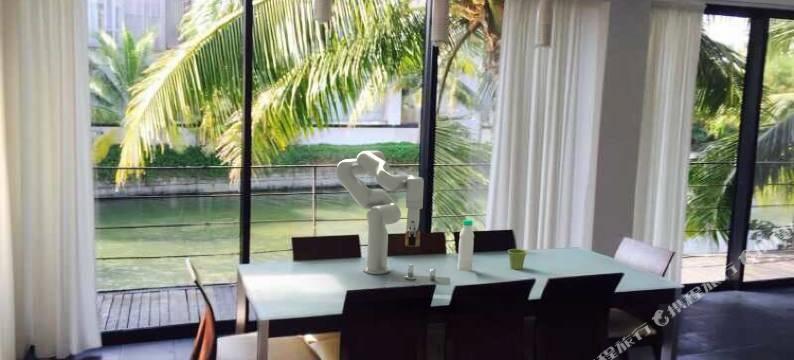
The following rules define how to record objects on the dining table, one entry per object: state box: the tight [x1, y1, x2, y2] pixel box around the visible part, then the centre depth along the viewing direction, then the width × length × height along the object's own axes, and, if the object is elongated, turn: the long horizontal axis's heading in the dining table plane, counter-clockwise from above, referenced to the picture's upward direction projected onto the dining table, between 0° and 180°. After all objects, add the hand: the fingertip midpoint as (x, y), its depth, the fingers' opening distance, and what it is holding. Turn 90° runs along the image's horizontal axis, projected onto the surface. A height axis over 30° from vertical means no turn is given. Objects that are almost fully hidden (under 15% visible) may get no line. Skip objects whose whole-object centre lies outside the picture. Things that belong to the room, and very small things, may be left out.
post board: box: [391, 273, 451, 286], centre depth 301 cm, size 12×26×2 cm, turn 85°
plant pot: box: [507, 248, 528, 270], centre depth 334 cm, size 9×9×9 cm
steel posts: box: [404, 263, 437, 281], centre depth 301 cm, size 5×14×7 cm, turn 85°
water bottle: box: [457, 219, 475, 272], centre depth 324 cm, size 7×7×25 cm
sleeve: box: [404, 229, 421, 248], centre depth 299 cm, size 6×6×6 cm
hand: (412, 243), depth 299 cm, fingers closed on sleeve, 6 cm apart
